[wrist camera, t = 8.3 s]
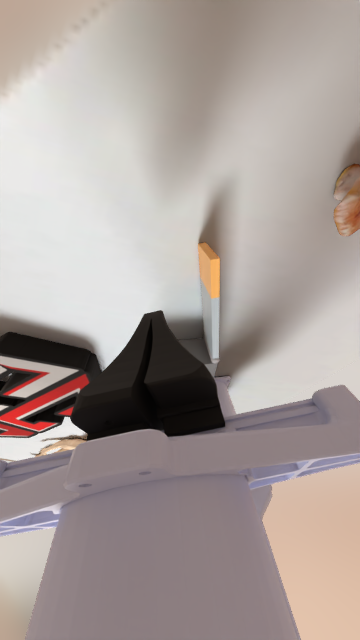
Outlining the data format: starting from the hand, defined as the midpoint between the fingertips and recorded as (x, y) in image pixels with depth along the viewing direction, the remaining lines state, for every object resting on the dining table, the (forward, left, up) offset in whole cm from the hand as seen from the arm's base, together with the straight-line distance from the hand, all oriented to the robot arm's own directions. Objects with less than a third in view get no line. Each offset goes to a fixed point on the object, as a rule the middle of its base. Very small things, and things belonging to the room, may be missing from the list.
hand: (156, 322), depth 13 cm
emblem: (-20, +23, -10) cm, 32 cm away
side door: (-4, -6, -9) cm, 11 cm away
